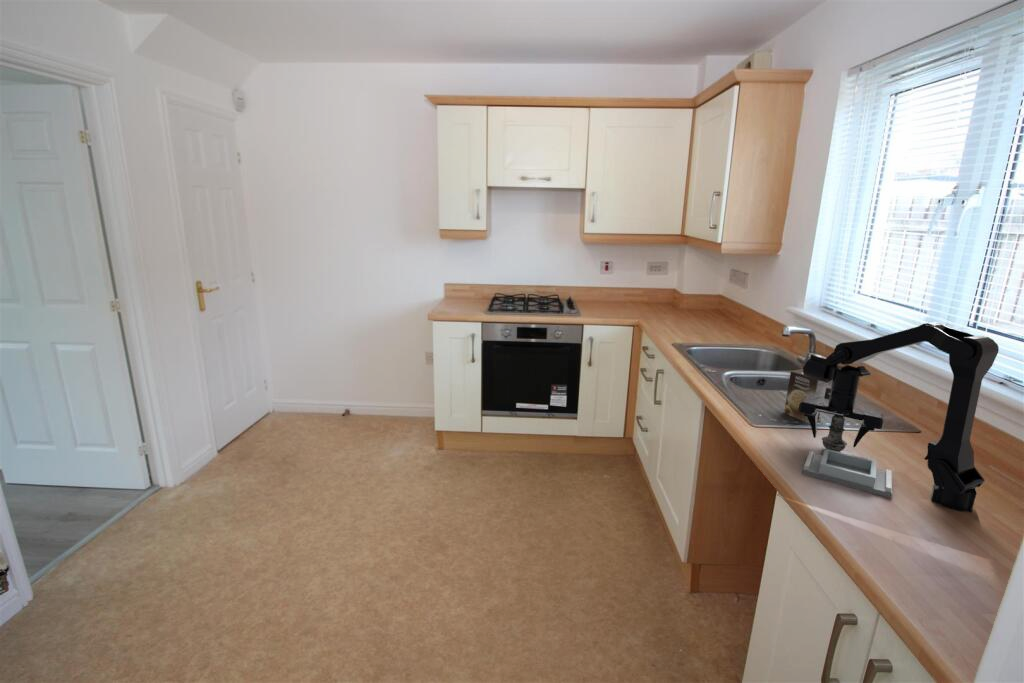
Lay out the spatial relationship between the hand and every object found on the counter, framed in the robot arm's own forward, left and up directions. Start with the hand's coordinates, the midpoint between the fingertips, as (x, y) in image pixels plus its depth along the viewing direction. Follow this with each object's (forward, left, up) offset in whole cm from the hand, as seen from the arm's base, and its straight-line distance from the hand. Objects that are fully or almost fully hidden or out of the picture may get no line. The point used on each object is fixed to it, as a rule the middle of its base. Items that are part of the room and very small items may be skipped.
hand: (833, 441), depth 133 cm
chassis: (-4, +13, -3) cm, 14 cm away
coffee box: (+10, -21, -4) cm, 23 cm away
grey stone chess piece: (0, 0, -4) cm, 4 cm away
